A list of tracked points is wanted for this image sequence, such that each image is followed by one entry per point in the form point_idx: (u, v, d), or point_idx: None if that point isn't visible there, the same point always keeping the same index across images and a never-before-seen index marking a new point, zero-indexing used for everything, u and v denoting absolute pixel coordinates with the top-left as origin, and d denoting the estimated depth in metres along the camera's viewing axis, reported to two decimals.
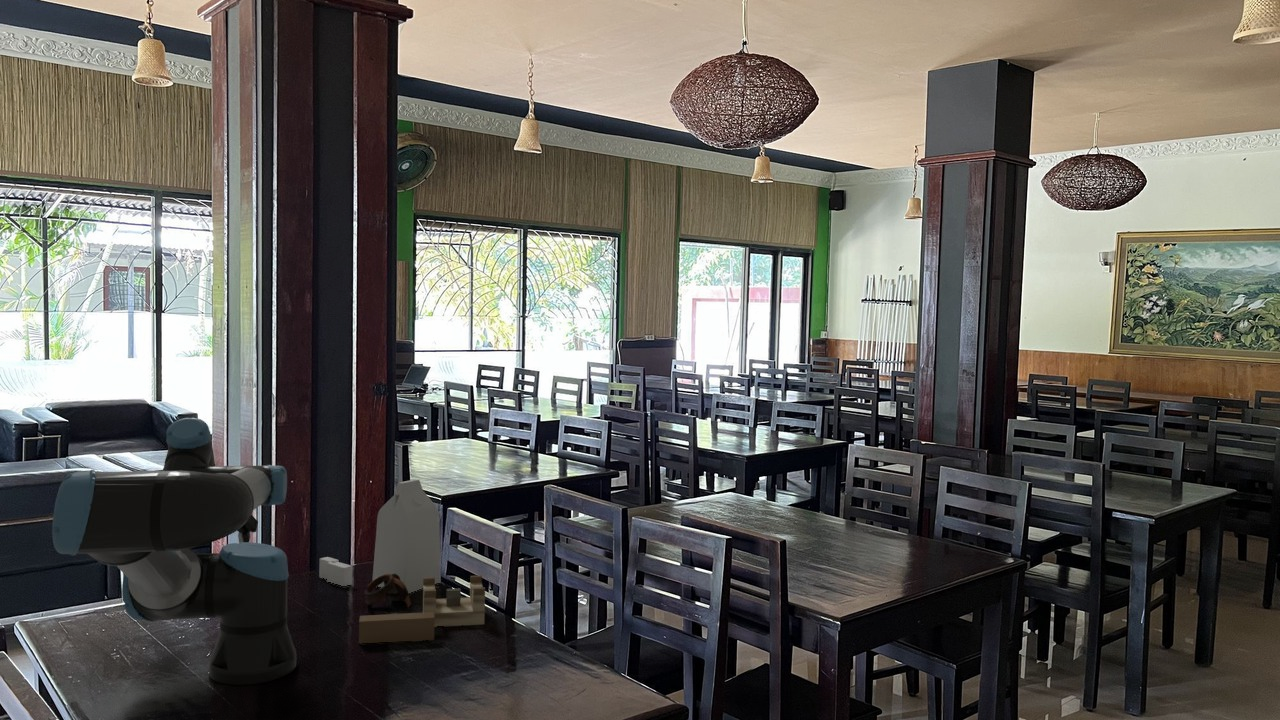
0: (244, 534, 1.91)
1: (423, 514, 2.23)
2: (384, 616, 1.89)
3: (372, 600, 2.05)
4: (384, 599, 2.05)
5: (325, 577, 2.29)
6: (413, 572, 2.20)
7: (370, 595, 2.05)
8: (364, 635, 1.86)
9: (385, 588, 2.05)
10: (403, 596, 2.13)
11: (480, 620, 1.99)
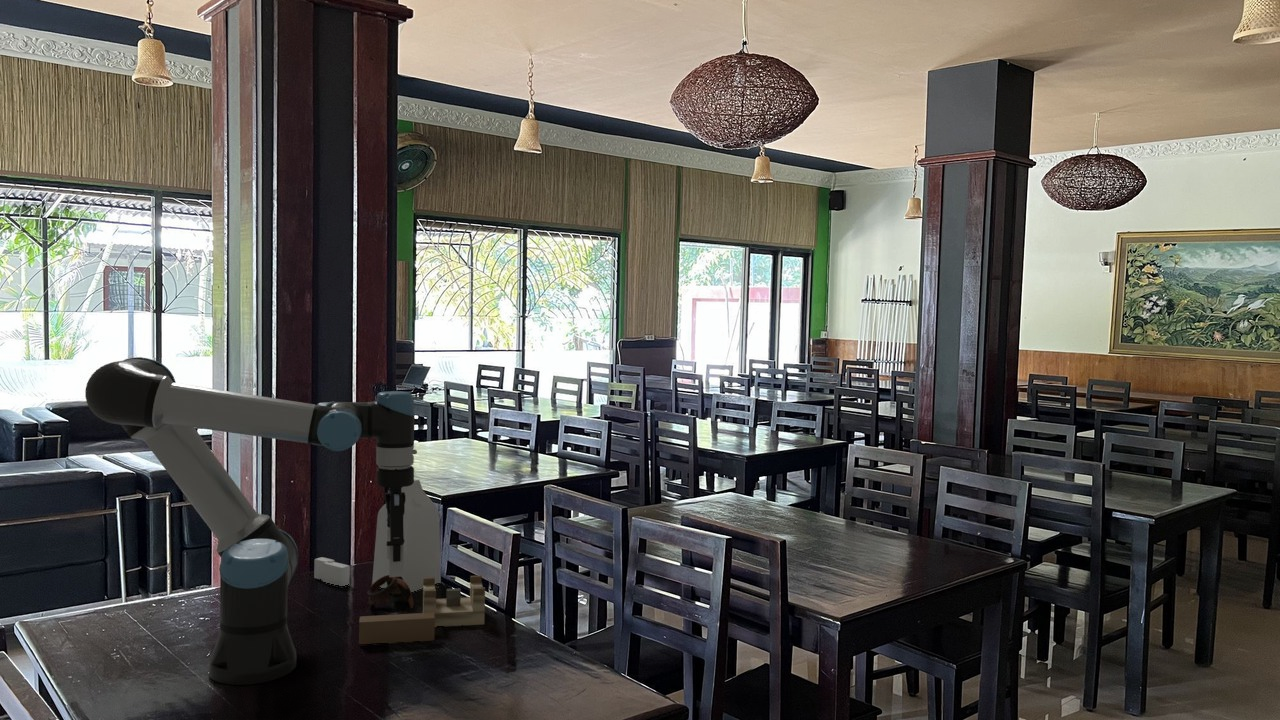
0: None
1: (423, 514, 2.23)
2: (384, 617, 1.88)
3: (375, 600, 2.05)
4: (387, 599, 2.05)
5: (321, 577, 2.28)
6: (413, 572, 2.20)
7: (373, 595, 2.05)
8: (364, 636, 1.85)
9: (388, 588, 2.05)
10: (406, 596, 2.13)
11: (480, 620, 1.99)
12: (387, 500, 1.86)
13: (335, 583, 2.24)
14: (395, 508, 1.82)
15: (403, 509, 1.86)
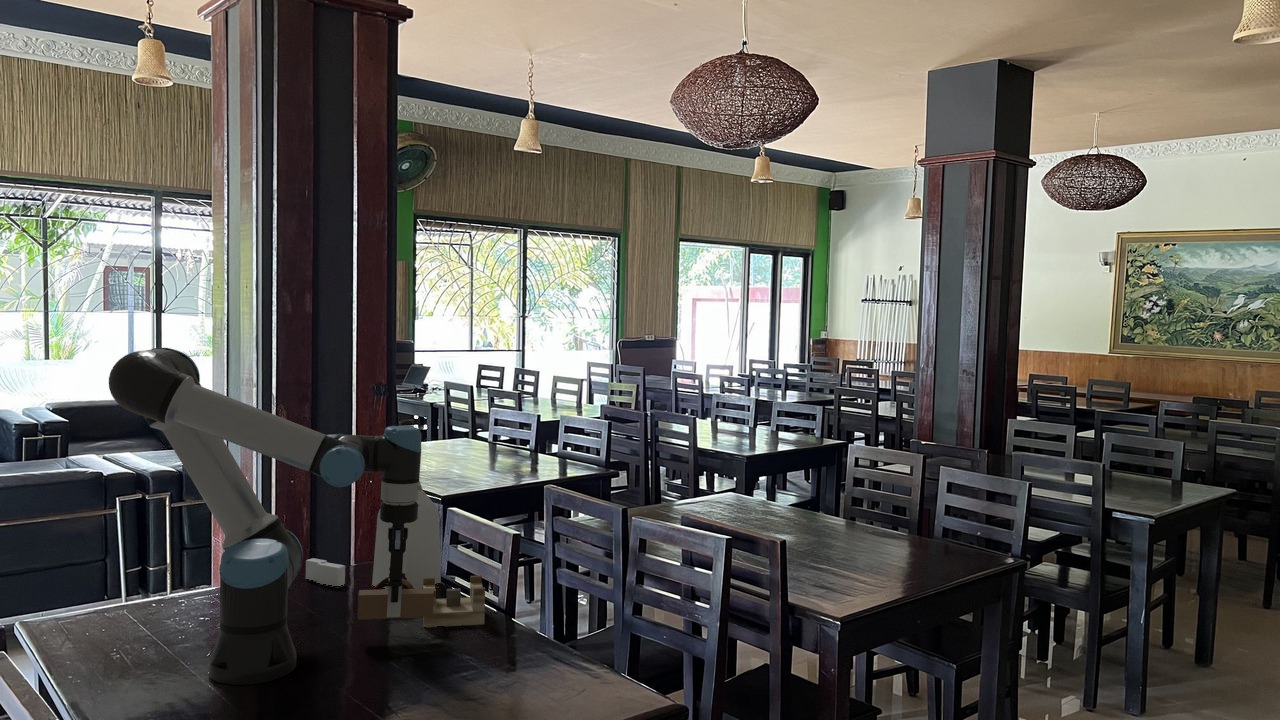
0: (386, 583, 1.85)
1: (423, 514, 2.23)
2: (383, 591, 1.88)
3: None
4: None
5: (313, 578, 2.27)
6: (413, 572, 2.20)
7: None
8: (362, 609, 1.85)
9: None
10: None
11: (480, 620, 1.99)
12: (389, 537, 1.86)
13: (330, 583, 2.23)
14: (395, 552, 1.82)
15: (404, 549, 1.86)
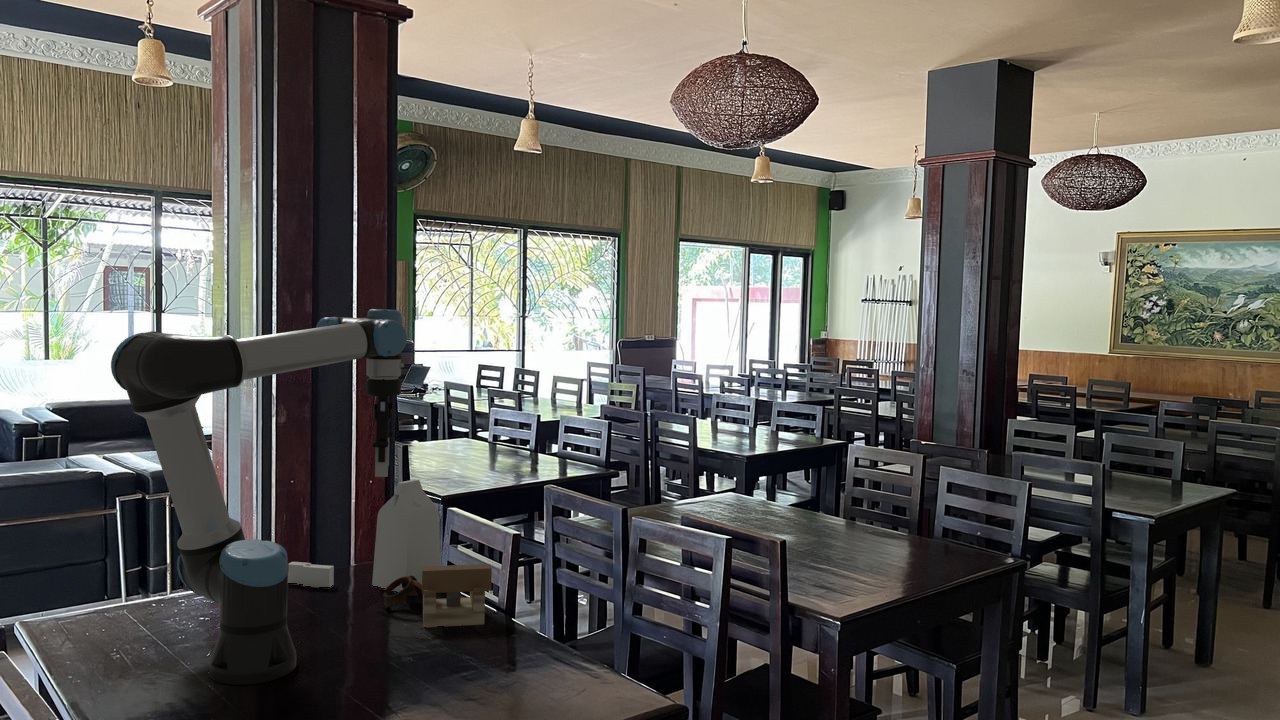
0: None
1: (423, 514, 2.23)
2: (445, 567, 2.02)
3: (392, 603, 2.04)
4: (404, 601, 2.04)
5: (296, 582, 2.24)
6: (413, 572, 2.20)
7: (390, 598, 2.04)
8: (426, 584, 1.99)
9: (405, 590, 2.04)
10: (421, 598, 2.12)
11: (480, 620, 1.99)
12: (375, 408, 2.03)
13: (320, 585, 2.22)
14: (381, 413, 1.98)
15: (389, 416, 2.02)
